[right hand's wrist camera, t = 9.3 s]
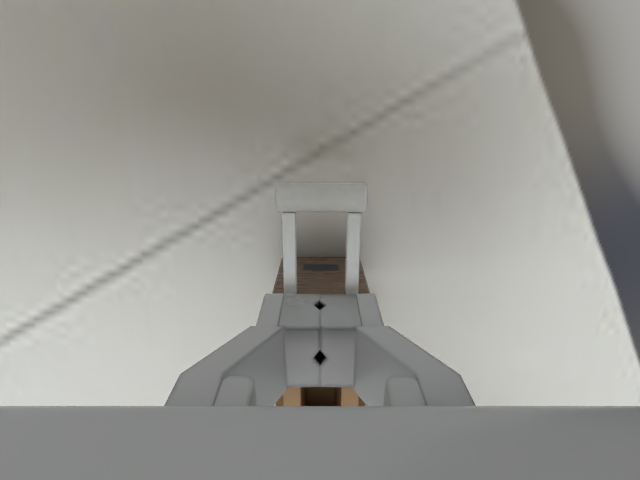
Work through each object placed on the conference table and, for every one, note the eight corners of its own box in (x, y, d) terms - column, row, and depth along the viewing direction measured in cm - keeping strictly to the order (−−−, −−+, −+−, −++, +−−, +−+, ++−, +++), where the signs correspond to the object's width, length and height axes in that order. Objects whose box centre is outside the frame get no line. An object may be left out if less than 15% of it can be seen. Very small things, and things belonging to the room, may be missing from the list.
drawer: (279, 168, 21) (257, 193, 14) (363, 168, 21) (385, 193, 14) (288, 467, 27) (277, 586, 20) (351, 467, 27) (363, 586, 20)
